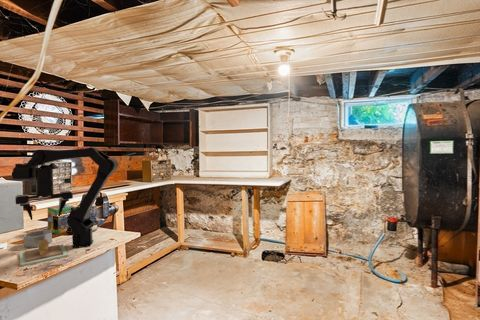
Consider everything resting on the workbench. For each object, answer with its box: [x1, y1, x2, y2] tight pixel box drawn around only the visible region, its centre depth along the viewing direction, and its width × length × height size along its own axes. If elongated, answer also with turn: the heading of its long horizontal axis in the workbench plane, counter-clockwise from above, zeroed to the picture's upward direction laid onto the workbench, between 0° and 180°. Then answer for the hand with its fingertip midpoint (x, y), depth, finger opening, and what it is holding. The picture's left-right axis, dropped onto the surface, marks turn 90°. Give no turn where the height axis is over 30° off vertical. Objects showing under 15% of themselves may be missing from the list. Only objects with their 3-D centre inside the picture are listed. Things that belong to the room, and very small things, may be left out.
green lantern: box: [47, 202, 74, 235], centre depth 133 cm, size 9×9×15 cm
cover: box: [24, 239, 63, 262], centre depth 103 cm, size 11×11×5 cm
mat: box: [19, 243, 69, 268], centre depth 103 cm, size 14×14×1 cm
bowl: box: [23, 229, 53, 249], centre depth 115 cm, size 9×9×4 cm
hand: (45, 217), depth 111 cm, fingers open, 9 cm apart
